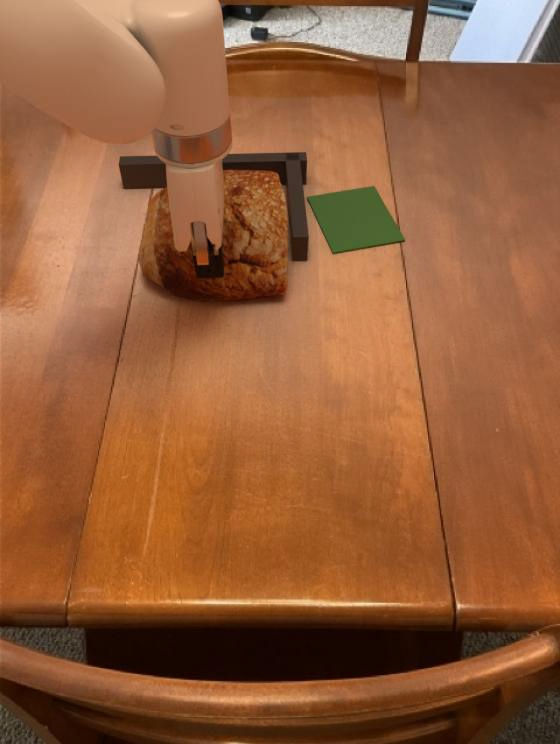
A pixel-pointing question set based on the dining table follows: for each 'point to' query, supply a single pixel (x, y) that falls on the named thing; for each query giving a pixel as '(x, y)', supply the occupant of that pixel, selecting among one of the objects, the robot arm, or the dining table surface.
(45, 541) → the dining table surface
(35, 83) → the robot arm
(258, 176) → the bread
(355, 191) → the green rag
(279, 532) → the dining table surface
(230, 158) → the corner stop
